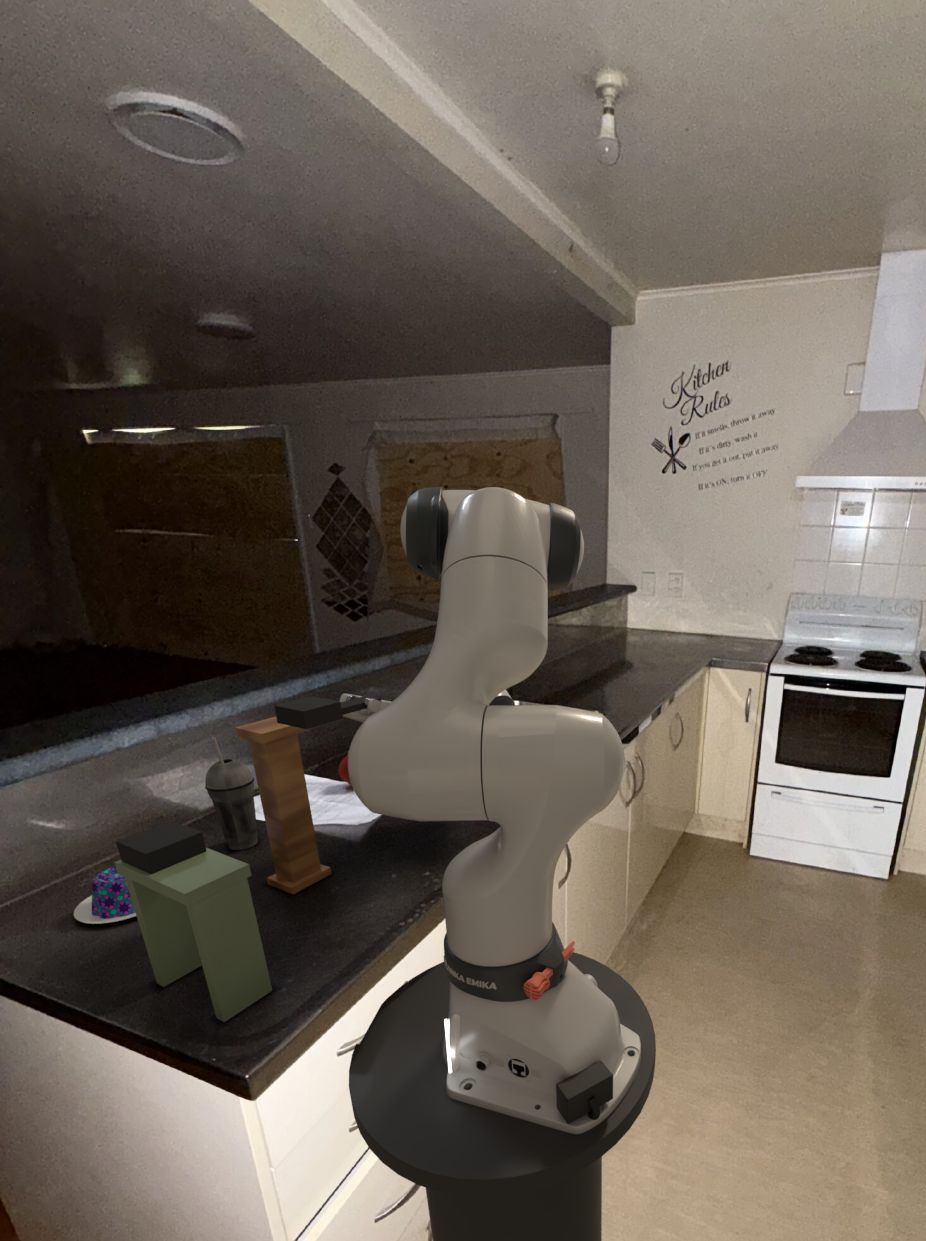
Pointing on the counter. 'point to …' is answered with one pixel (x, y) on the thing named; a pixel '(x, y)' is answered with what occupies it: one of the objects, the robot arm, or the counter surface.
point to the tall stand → (284, 804)
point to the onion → (344, 770)
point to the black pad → (316, 711)
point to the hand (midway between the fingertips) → (357, 701)
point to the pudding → (106, 900)
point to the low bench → (202, 927)
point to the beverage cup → (233, 800)
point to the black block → (161, 847)
